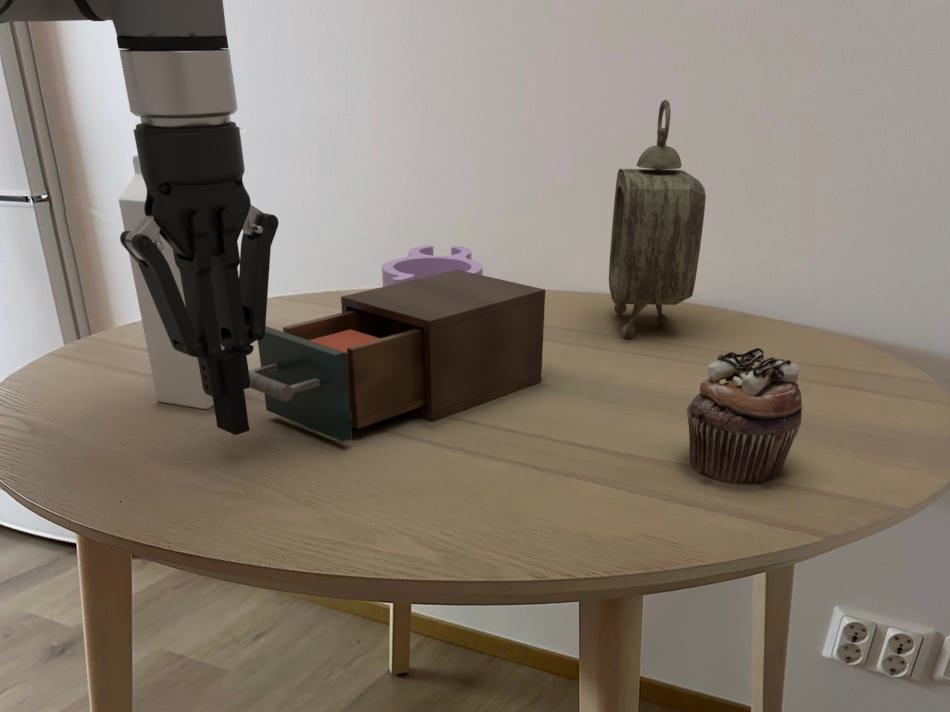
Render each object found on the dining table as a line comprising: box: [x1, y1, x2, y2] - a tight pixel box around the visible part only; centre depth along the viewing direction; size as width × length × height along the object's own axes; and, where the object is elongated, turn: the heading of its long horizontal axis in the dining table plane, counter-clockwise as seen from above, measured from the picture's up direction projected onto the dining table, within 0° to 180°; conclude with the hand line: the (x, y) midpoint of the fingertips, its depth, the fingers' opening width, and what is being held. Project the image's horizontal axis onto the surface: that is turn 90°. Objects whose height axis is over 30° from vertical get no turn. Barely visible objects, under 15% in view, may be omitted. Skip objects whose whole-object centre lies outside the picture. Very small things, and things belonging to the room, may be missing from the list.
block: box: [309, 329, 380, 412], centre depth 88 cm, size 6×6×6 cm
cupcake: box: [686, 347, 804, 485], centre depth 79 cm, size 10×10×10 cm
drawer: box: [248, 309, 426, 442], centre depth 87 cm, size 20×11×8 cm, turn 137°
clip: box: [381, 244, 484, 287], centre depth 118 cm, size 20×12×7 cm, turn 176°
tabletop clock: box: [608, 99, 707, 339], centre depth 111 cm, size 14×9×25 cm, turn 178°
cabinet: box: [340, 270, 546, 422], centre depth 95 cm, size 17×13×10 cm
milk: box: [118, 155, 224, 410], centre depth 89 cm, size 6×6×22 cm
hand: (233, 428), depth 80 cm, fingers closed
